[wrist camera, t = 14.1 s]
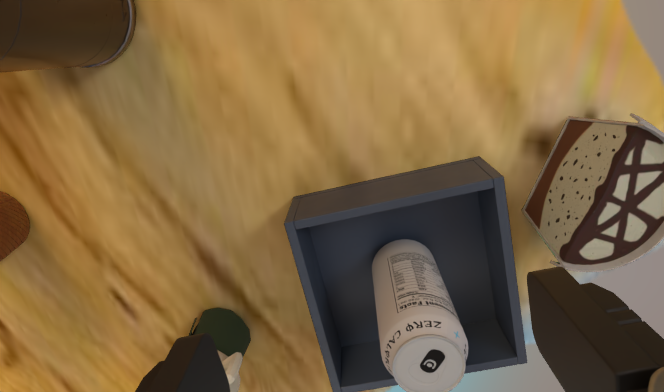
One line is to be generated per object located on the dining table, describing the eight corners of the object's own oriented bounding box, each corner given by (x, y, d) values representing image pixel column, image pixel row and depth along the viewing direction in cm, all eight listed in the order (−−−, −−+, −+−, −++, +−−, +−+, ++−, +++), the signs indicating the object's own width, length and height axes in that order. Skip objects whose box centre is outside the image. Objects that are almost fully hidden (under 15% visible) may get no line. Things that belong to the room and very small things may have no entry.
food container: (573, 244, 44) (635, 299, 34) (514, 224, 43) (561, 274, 34) (640, 122, 40) (732, 146, 30) (576, 100, 39) (649, 117, 30)
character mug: (235, 278, 46) (194, 363, 34) (283, 324, 48) (260, 422, 35) (163, 336, 49) (100, 435, 36) (211, 378, 50) (166, 487, 38)
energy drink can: (360, 274, 45) (366, 381, 30) (391, 224, 43) (412, 313, 29) (413, 300, 45) (443, 417, 31) (445, 252, 44) (493, 352, 29)
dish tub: (335, 349, 48) (334, 396, 42) (293, 196, 43) (283, 223, 37) (502, 319, 47) (527, 363, 40) (479, 156, 41) (503, 176, 35)
